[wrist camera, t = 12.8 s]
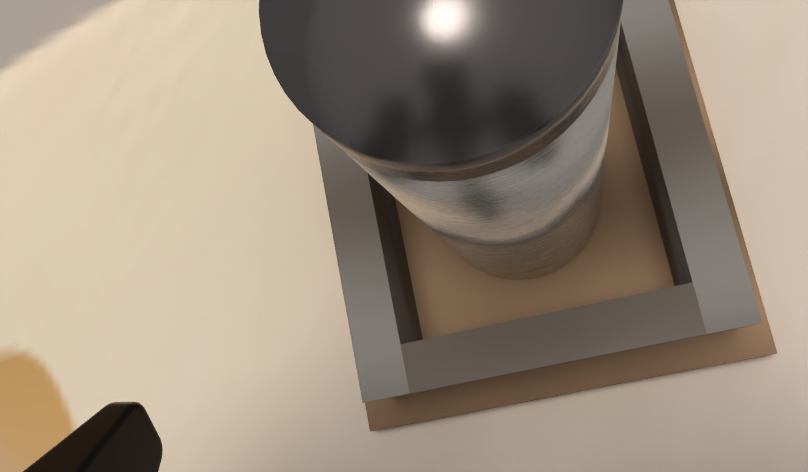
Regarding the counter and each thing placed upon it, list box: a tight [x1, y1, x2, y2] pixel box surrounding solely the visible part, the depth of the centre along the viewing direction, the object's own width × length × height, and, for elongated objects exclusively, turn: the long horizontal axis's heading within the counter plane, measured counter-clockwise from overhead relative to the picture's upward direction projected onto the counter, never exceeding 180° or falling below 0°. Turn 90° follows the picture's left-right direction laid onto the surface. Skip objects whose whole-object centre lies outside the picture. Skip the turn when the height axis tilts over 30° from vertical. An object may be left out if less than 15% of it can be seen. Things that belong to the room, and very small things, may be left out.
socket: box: [313, 0, 777, 431], centre depth 21 cm, size 11×11×4 cm
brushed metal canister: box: [259, 0, 623, 280], centre depth 16 cm, size 4×4×13 cm
